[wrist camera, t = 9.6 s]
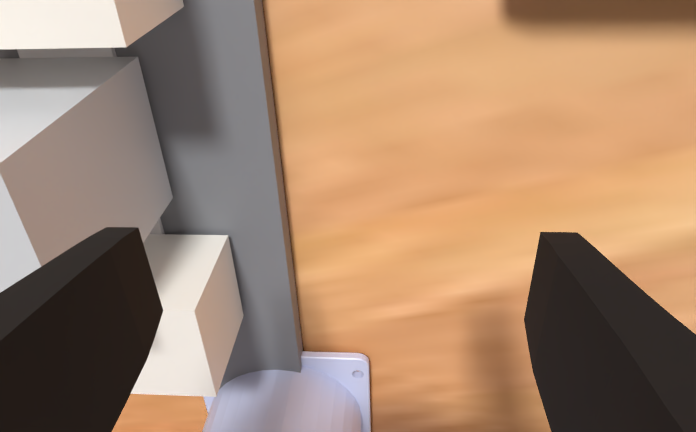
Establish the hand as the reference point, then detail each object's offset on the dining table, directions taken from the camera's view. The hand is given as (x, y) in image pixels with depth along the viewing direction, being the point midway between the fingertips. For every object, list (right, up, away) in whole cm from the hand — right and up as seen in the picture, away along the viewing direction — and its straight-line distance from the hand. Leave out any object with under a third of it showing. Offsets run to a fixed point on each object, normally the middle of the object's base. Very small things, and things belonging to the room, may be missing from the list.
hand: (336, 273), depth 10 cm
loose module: (-8, +4, +8) cm, 12 cm away
